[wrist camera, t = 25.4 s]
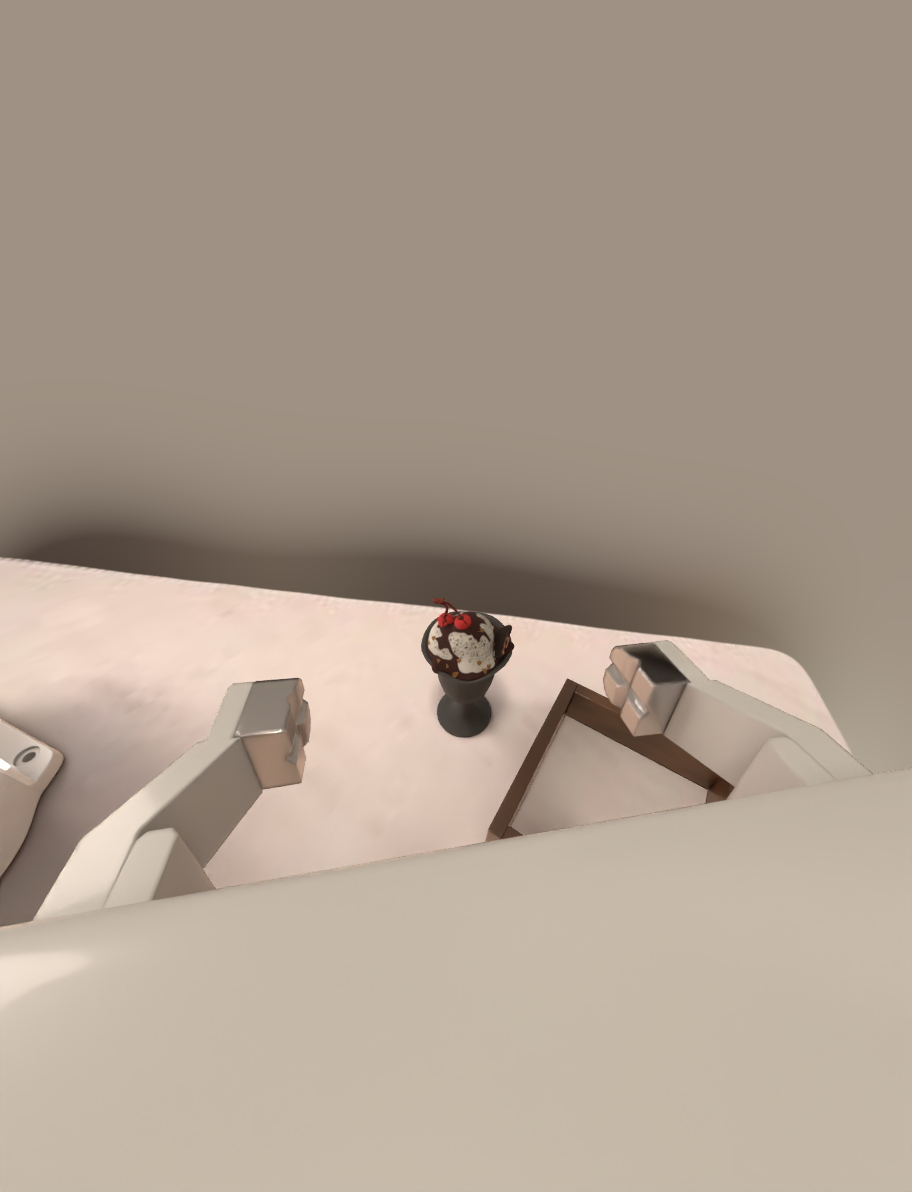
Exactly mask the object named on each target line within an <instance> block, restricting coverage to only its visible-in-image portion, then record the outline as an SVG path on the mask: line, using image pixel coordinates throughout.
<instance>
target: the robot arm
mask: <svg viewBox="0 0 912 1192" xmlns="http://www.w3.org/2000/svg"><path fill="white" fill-rule="evenodd" d="M609 658H610V659H611V661H612V664H611V665H610V666H609V667H608V668H607V669H606V670H605V674H604V678H603V682H604V689H605V692H606V695H607V697H608V698H609V700H610V702H611V703H612V704H613V705H615V706H617V707H618V708H620V709H621V714H620V717H621V718H622V720H623V721H624V723H625V724H626V726H627V727H628V729H629V730H630V732H631V733H632V735H633V736H634V737H635V736H644V735H653V734H662V733H664V734H663V735H664V736H666V737H667V738H668V739H670V740H671V741H672V742H674V743H675V744H677V745H678V746H679V747H681V748H682V749H683V750H685V751H686V752H688V753H689V754H690V755H692V756H693V757H694V758H696V759H697V760H699V761H700V762H701V763H703V764H704V765H705V766H707V767H708V768H709V769H711V770H712V771H714V772H715V773H716V774H718V775H719V776H720V777H722V778H723V779H725V780H726V781H727V782H729V783H730V784H731V785H733V786H734V787H735V788H734V789H733V791H732V792H731V793H730V795H729V796H728V798H727V800H724V801H718V802H712V803H707V804H701V805H695V806H689V807H684V808H678V809H672V810H667V811H661V812H655V813H649V814H644V815H638V816H632V817H626V818H621V819H615V820H609V821H604V822H598V823H592V824H586V825H581V826H575V827H569V828H563V829H558V830H552V831H546V832H541V833H535V834H529V835H524V836H518V837H512V838H507V839H501V840H495V841H490V842H484V843H478V844H473V845H467V846H461V847H455V848H450V849H444V850H438V851H433V852H427V853H421V854H415V855H410V856H404V857H398V858H393V859H387V860H381V861H375V862H370V863H364V864H358V865H352V866H347V867H341V868H335V869H330V870H324V871H318V872H312V873H307V874H301V875H295V876H290V877H284V878H278V879H272V880H267V881H261V882H255V883H249V884H244V885H238V886H232V887H227V888H221V889H215V887H214V886H213V884H212V883H211V881H210V880H209V878H208V877H207V875H206V874H205V872H204V871H203V868H204V867H205V866H206V865H207V863H208V862H209V861H210V859H211V858H212V857H213V855H214V854H215V853H216V852H217V850H218V849H219V848H220V846H221V845H222V844H223V842H224V841H225V840H226V839H227V837H228V836H229V835H230V833H231V832H232V831H233V830H234V828H235V827H236V826H237V824H238V823H239V822H240V820H241V819H242V818H243V817H244V815H245V814H246V813H247V811H248V810H249V809H250V808H251V806H252V805H253V804H254V802H255V801H256V800H257V798H258V797H259V796H260V795H261V793H262V790H263V789H269V788H275V787H281V786H287V785H293V784H299V783H302V778H303V772H304V766H305V761H306V755H305V752H304V748H303V747H304V746H305V745H306V744H307V743H308V742H309V737H310V725H311V718H310V709H309V705H308V702H306V701H305V700H304V699H303V694H304V686H303V683H302V679H300V678H292V679H279V680H266V681H256V682H246V683H233V684H232V685H231V686H230V687H229V688H228V689H227V691H226V694H225V696H224V698H223V701H222V703H221V705H220V708H219V710H218V712H217V714H216V717H215V719H214V721H213V724H212V726H211V728H210V731H209V733H208V735H207V738H206V740H205V741H203V742H197V743H196V744H195V745H194V746H192V747H191V748H190V749H189V750H188V751H186V752H185V753H184V754H183V755H182V756H180V757H179V758H178V759H177V760H176V761H174V762H173V763H172V764H171V765H170V766H168V767H167V768H166V769H165V770H164V771H162V772H161V773H160V774H159V775H158V776H156V777H155V778H154V779H153V780H152V781H150V782H149V783H148V784H147V785H145V786H144V787H143V788H142V789H141V790H139V791H138V792H137V793H136V794H135V795H133V796H132V797H131V798H130V799H129V800H127V801H126V802H125V803H124V804H123V805H121V806H120V807H119V808H118V809H117V810H115V811H114V812H113V813H112V814H111V815H109V816H108V817H107V818H106V819H105V820H103V821H102V822H101V823H100V824H99V825H97V826H96V827H95V828H94V829H92V830H91V831H90V832H89V833H88V834H86V835H85V836H84V837H83V838H82V839H81V840H80V842H79V843H78V845H77V847H76V848H75V850H74V852H73V853H72V855H71V857H70V858H69V860H68V862H67V863H66V865H65V867H64V868H63V870H62V872H61V873H60V875H59V877H58V878H57V880H56V882H55V883H54V885H53V887H52V888H51V890H50V892H49V893H48V895H47V897H46V898H45V900H44V902H43V903H42V905H41V907H40V908H39V910H38V912H37V913H36V915H35V917H34V918H33V920H32V921H31V922H25V923H20V924H14V925H8V926H2V927H0V1192H912V768H907V769H901V770H895V771H890V772H884V773H878V774H873V773H872V772H871V771H870V770H868V769H867V768H866V767H865V766H864V765H862V764H861V763H860V762H859V761H858V760H857V759H856V758H854V757H853V756H852V755H851V754H850V753H849V752H847V751H846V750H845V749H844V748H843V747H842V746H841V745H839V744H838V743H837V742H836V741H835V740H834V739H832V738H831V737H830V736H829V735H828V734H827V733H825V732H824V731H823V730H822V729H820V728H818V727H816V726H814V725H811V724H809V723H807V722H805V721H803V720H801V719H798V718H796V717H794V716H792V715H790V714H788V713H786V712H783V711H781V710H779V709H777V708H775V707H773V706H771V705H768V704H766V703H764V702H762V701H760V700H758V699H755V698H753V697H751V696H749V695H747V694H745V693H743V692H740V691H738V690H736V689H734V688H732V687H730V686H727V685H725V684H723V683H721V682H719V681H717V680H713V681H710V680H709V679H708V678H707V677H706V676H705V675H704V674H703V673H702V672H701V671H700V670H699V669H698V668H697V667H696V666H695V665H694V664H693V663H692V662H691V661H690V660H689V659H688V658H687V657H686V656H685V655H684V654H683V653H682V652H681V651H680V650H679V649H678V648H677V647H676V646H675V645H674V644H673V643H672V642H670V641H667V640H665V641H656V642H649V643H640V644H631V645H622V646H615V647H614V648H613V649H612V651H611V654H610V657H609ZM62 762H63V754H62V753H61V752H59V751H58V750H56V749H54V748H52V747H50V746H49V745H47V744H45V743H43V742H41V741H40V740H38V739H36V738H34V737H32V736H31V735H29V734H27V733H25V732H23V731H22V730H20V729H18V728H16V727H14V726H13V725H11V724H9V723H7V722H5V721H3V720H2V719H0V877H1V876H2V874H3V873H4V872H5V870H6V869H7V867H8V866H9V865H10V863H11V861H12V860H13V858H14V857H15V855H16V854H17V852H18V850H19V848H20V847H21V845H22V843H23V841H24V839H25V837H26V835H27V832H28V830H29V828H30V825H31V822H32V819H33V816H34V813H35V809H36V806H37V803H38V801H39V798H40V796H41V794H42V793H43V791H44V790H45V788H46V787H47V786H48V784H49V783H50V781H51V780H52V779H53V777H54V776H55V774H56V773H57V771H58V770H59V768H60V766H61V764H62Z"/></svg>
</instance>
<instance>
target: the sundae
mask: <svg viewBox="0 0 912 1192" xmlns="http://www.w3.org/2000/svg"><path fill="white" fill-rule="evenodd" d="M434 603H436V604H442V605H444V606H445V607H446V611H445V613H443V614H441V615H440V616H439V617H438V618H436V619H435V620H434V621H432V623H431V624H430V625H429V626H428V628H427V630H426V631H425V633H424V636H423V639H422V644H421V649H422V653H423V655H424V657H425V659H426V661H427V662H428V663H429V664H430V665H431V666H432V670H433V672H434V673H437V674H438V678H439V681H440V683H441V686H442V688H443V690H444V692H445V695H444V696H443V697H442V699H441V700H440V702H439V704H438V708H437V716H438V720H439V722H440V724H441V726H442V727H443V728H444V729H445V730H446V731H447V732H449V733H451V734H452V735H455V736H458V737H471V736H474V735H477V734H479V733H480V732H482V731H483V730H484V729H485V728H486V727H487V725H488V723H489V721H490V718H491V707H490V705H489V702H488V701H487V699H486V698H485V697H484V695H485V693H486V692H487V690H488V688H489V687H490V685H491V683H492V680H493V677H494V674H495V673H496V672H498V671H499V670H500V669H501V668H503V667H504V666H505V665H506V663H507V662H508V661H509V659H510V657H511V655H512V650H513V649H514V644H513V643H512V642H511V638H510V633H511V630H512V626H511V625H507V626H504V625H503V624H502V623H501V622H500V621H499V620H497V619H496V618H494V617H493V616H491V615H488V614H484V613H479V612H461V611H457V610H456V609H455V608H454V607H453V606H452V605H451V604H449V603H448V602H445V601H444V598H442V599H436V598H435V599H434ZM446 604H448V605H449V606H450V607H451V608H452V609H453V610H454V611H455V612H450V613H448V607H447V605H446Z"/></svg>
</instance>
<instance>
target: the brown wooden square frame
mask: <svg viewBox="0 0 912 1192" xmlns="http://www.w3.org/2000/svg"><path fill="white" fill-rule="evenodd" d="M565 714H566V715H568V716H570V717H572V718H574V719H576V720H577V721H579V722H581V723H583V724H585V725H587V726H589V727H591V728H593V729H594V730H596V731H598V732H600V733H602V734H604V735H606V736H608V737H610V738H612V739H613V740H615V741H617V742H619V743H621V744H623V745H625V746H627V747H629V748H630V749H632V750H634V751H636V752H638V753H640V754H642V755H644V756H646V757H647V758H649V759H651V760H653V761H655V762H657V763H659V764H661V765H663V766H665V767H666V768H668V769H670V770H672V771H674V772H676V773H678V774H680V775H682V776H683V777H685V778H687V779H689V780H691V781H693V782H695V783H697V784H699V785H700V786H702V787H704V788H706V789H708V794H707V800H706V804H707V803H712V802H718V801H724V800H727V798H728V796H729V795H730V793H731V792H732V791H733V789H734V788H735V787H734V786H733V785H731V784H730V783H729V782H727V781H726V780H725V779H723V778H722V777H720V776H719V775H718V774H716V773H715V772H714V771H712V770H711V769H709V768H708V767H707V766H705V765H704V764H703V763H701V762H700V761H699V760H697V759H696V758H694V757H693V756H692V755H690V754H689V753H688V752H686V751H685V750H683V749H682V748H681V747H679V746H678V745H677V744H675V743H674V742H672V741H671V740H670V739H668V738H667V737H666V736H664V735H663V734H664V733H662V734H653V735H644V736H635V737H634V736H633V735H632V733H631V732H630V730H629V729H628V727H627V726H626V724H625V723H624V721H623V720H622V718H621V717H620V714H621V709H620V708H618V707H617V706H615V705H613V704H612V703H611V702H610V700H609V699H608V698H606V697H604V696H602V695H600V694H598V693H596V692H594V691H592V690H590V689H588V688H586V687H584V686H582V685H580V684H578V683H576V682H574V681H572V680H570V679H567V680H566V682H565V684H564V686H563V688H562V690H561V691H560V693H559V695H558V697H557V699H556V701H555V703H554V705H553V707H552V709H551V711H550V712H549V714H548V716H547V718H546V720H545V722H544V724H543V726H542V728H541V730H540V732H539V733H538V735H537V737H536V739H535V741H534V743H533V745H532V747H531V749H530V751H529V753H528V754H527V756H526V758H525V760H524V762H523V764H522V766H521V768H520V770H519V772H518V774H517V775H516V777H515V779H514V781H513V783H512V785H511V787H510V789H509V791H508V793H507V795H506V796H505V798H504V800H503V802H502V804H501V806H500V808H499V810H498V812H497V814H496V816H495V817H494V819H493V821H492V823H491V825H490V827H489V829H488V833H487V838H486V842H490V841H495V840H501V839H507V838H512V837H518V836H523V835H522V834H520V833H519V832H518V831H516V830H515V829H513V828H512V827H510V826H511V824H512V822H513V820H514V818H515V816H516V814H517V812H518V810H519V808H520V806H521V804H522V802H523V800H524V798H525V795H526V793H527V791H528V789H529V787H530V785H531V783H532V781H533V779H534V777H535V775H536V773H537V771H538V769H539V767H540V765H541V763H542V761H543V759H544V757H545V755H546V753H547V751H548V749H549V747H550V744H551V742H552V740H553V738H554V736H555V734H556V732H557V730H558V728H559V726H560V724H561V722H562V720H563V718H564V716H565Z"/></svg>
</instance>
